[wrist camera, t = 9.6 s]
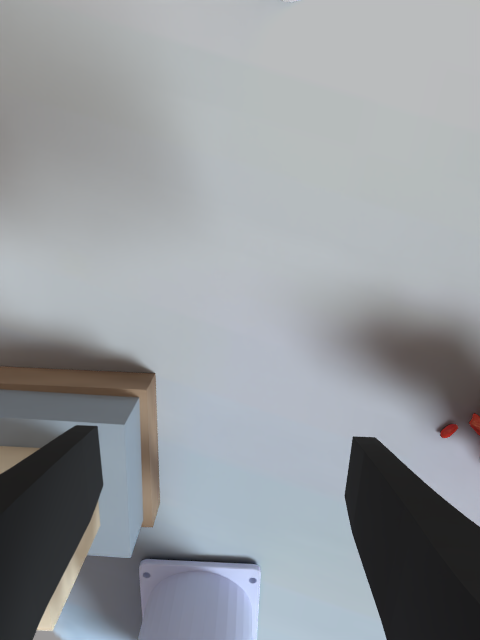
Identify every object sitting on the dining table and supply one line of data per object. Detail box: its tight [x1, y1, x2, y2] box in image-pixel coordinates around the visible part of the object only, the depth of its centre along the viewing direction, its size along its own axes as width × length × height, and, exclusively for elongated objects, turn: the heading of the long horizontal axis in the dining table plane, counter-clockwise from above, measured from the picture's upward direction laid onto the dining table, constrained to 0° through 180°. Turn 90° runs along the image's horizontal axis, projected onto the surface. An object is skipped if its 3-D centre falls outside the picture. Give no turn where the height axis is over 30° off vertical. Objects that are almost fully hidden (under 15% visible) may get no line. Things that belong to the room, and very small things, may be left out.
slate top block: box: [0, 389, 143, 558], centre depth 20 cm, size 8×8×2 cm
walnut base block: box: [0, 366, 160, 527], centre depth 23 cm, size 9×9×2 cm
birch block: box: [0, 446, 100, 631], centre depth 17 cm, size 4×4×5 cm
